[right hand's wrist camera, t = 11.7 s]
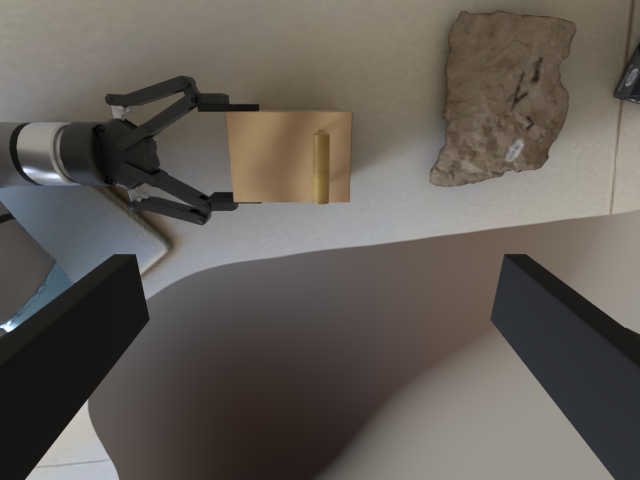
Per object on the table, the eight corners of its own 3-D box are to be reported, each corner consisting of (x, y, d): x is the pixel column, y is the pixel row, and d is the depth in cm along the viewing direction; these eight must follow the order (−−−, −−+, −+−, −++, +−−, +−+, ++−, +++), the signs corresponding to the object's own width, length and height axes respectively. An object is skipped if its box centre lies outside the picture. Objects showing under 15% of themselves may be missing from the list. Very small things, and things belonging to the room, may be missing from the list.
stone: (538, 191, 48) (557, 195, 42) (427, 184, 51) (430, 187, 45) (570, 22, 44) (596, 0, 38) (445, 25, 47) (452, 5, 41)
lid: (351, 111, 38) (359, 114, 31) (348, 200, 42) (354, 221, 35) (227, 111, 38) (205, 114, 31) (235, 200, 42) (217, 221, 35)
